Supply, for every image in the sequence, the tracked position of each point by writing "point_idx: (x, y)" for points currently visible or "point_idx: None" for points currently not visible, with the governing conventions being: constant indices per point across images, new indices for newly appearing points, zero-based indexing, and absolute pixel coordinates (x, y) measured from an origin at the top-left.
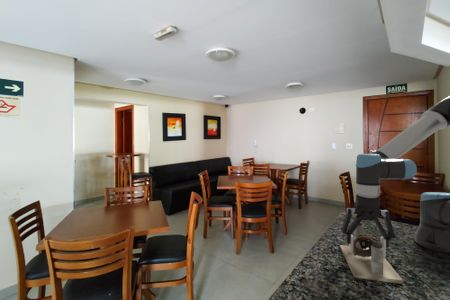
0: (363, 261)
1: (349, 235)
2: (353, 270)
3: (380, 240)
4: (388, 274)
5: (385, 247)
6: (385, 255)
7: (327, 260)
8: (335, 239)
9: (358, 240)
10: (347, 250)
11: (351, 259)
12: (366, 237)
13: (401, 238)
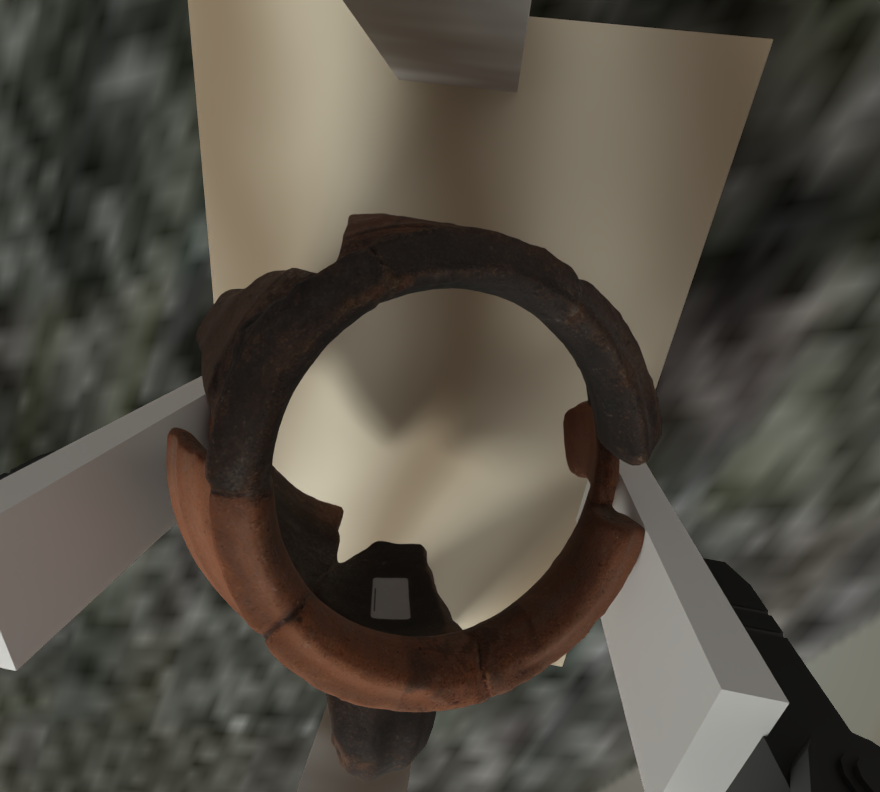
0: (473, 380)
1: (854, 749)
2: (726, 140)
3: (98, 593)
4: (306, 111)
5: (99, 431)
6: (197, 381)
7: (858, 421)
8: (528, 750)
9: (505, 617)
10: (538, 579)
11: None
12: (341, 650)
13: (35, 728)
